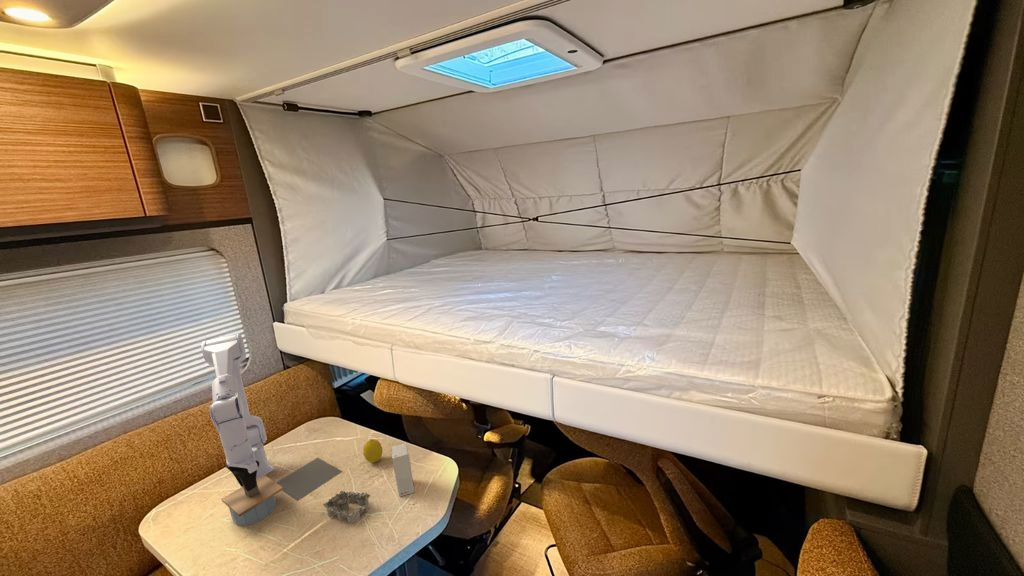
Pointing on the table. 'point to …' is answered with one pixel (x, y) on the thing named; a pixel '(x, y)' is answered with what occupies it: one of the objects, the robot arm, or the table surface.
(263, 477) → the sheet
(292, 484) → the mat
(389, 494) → the table surface
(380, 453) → the lemon
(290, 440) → the table surface
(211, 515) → the table surface
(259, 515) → the bowl
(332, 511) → the grey lumpy curved piece
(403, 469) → the skincare box
